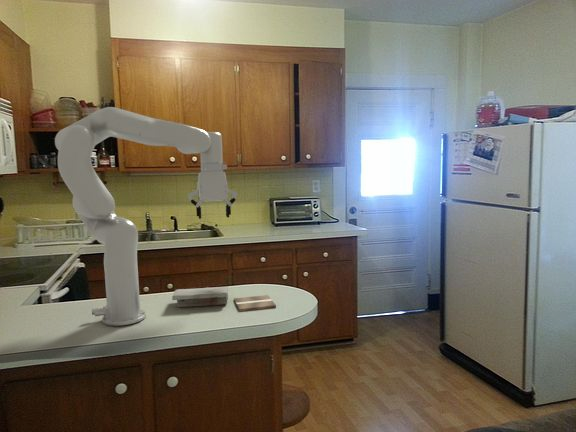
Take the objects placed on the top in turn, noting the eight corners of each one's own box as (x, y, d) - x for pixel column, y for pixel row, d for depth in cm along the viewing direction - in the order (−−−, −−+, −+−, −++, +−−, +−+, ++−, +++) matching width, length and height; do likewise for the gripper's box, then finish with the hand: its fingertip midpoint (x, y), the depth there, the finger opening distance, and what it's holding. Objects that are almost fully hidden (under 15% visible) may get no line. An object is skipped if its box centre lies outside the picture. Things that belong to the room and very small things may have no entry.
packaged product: (228, 306, 146) (228, 299, 155) (227, 292, 145) (227, 286, 155) (172, 310, 143) (175, 302, 153) (171, 295, 143) (175, 288, 153)
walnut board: (239, 311, 141) (239, 308, 141) (233, 300, 153) (233, 298, 153) (276, 307, 144) (275, 305, 144) (267, 297, 156) (267, 294, 156)
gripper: (235, 168, 159) (236, 215, 161) (185, 169, 154) (188, 217, 156) (238, 168, 152) (240, 217, 154) (186, 169, 147) (189, 220, 149)
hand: (213, 217), depth 155 cm, fingers open, 9 cm apart
